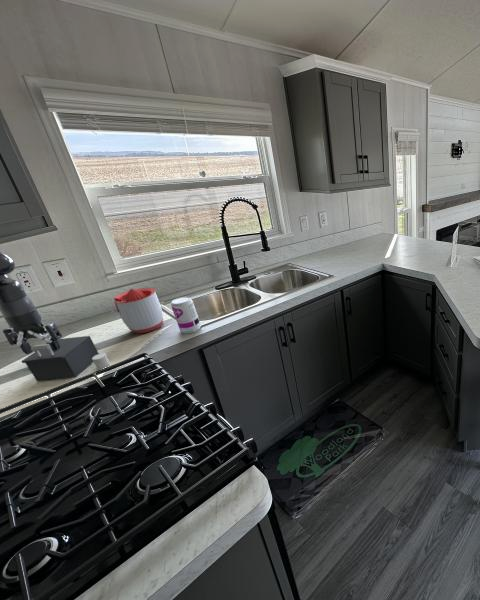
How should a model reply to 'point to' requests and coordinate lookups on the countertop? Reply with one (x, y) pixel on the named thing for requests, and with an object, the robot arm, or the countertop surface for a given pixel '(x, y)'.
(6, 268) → the robot arm
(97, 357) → the cylinder
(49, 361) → the black tray box
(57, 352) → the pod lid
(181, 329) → the supplement can
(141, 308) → the citrus juicer
